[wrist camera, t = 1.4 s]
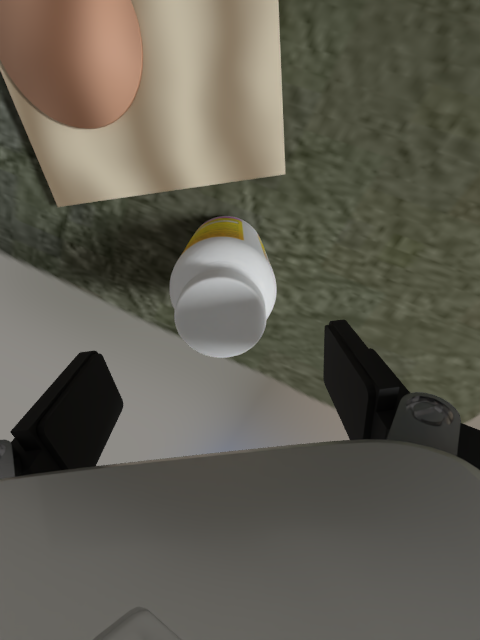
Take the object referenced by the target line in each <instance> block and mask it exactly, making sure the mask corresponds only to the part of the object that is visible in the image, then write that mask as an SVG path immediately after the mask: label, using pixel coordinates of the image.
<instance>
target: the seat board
mask: <svg viewBox="0 0 480 640" xmlns="http://www.w3.org/2000/svg"><path fill="white" fill-rule="evenodd" d="M0 71H1V73H2V76H3V78H4V80H5V83H6V85H7V88H8V90H9V92H10V95H11V97H12V99H13V102H14V104H15V107H16V109H17V111H18V114H19V116H20V118H21V121H22V123H23V125H24V128H25V130H26V133H27V135H28V137H29V140H30V142H31V144H32V147H33V149H34V152H35V154H36V156H37V159H38V161H39V163H40V166H41V168H42V171H43V173H44V175H45V178H46V180H47V182H48V185H49V187H50V189H51V192H52V194H53V197H54V199H55V201H56V204H57V206H58V207H61V206H68V205H75V204H82V203H89V202H96V201H103V200H110V199H117V198H124V197H131V196H137V195H144V194H151V193H158V192H165V191H172V190H179V189H186V188H193V187H200V186H207V185H214V184H221V183H228V182H235V181H242V180H248V179H255V178H262V177H269V176H276V175H283V174H285V154H284V129H283V105H282V80H281V55H280V30H279V6H278V0H0Z"/></svg>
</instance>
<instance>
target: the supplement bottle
mask: <svg viewBox="0 0 480 640" xmlns="http://www.w3.org/2000/svg"><path fill="white" fill-rule="evenodd" d="M169 290H170V298H171V301H172V305H173V307H174V309H175V314H174V318H175V325H176V328H177V331H178V333H179V335H180V336H181V338H182V339H183V340H184V342H185V343H186V344H187V345H189V346H190V347H191V348H192V349H194V350H195V351H197V352H199V353H201V354H204V355H207V356H211V357H219V358H226V357H232V356H236V355H239V354H242V353H244V352H246V351H247V350H249V349H250V348H252V347H253V346H254V345H255V344H256V343H257V342H258V341H259V339H260V338H261V336H262V334H263V332H264V330H265V326H266V319H267V318H268V316H269V315H270V313H271V311H272V309H273V306H274V303H275V299H276V280H275V276H274V273H273V270H272V267H271V265H270V263H269V260H268V257H267V255H266V252H265V249H264V246H263V244H262V241H261V239H260V237H259V235H258V233H257V232H256V231H255V229H254V228H253V227H252V226H251V225H250V224H248V223H247V222H245V221H244V220H242V219H239V218H236V217H232V216H220V217H215V218H213V219H210V220H208V221H207V222H205V223H204V224H202V225H201V226H200V227H199V228H198V229H197V231H196V232H195V234H194V235H193V237H192V238H191V240H190V241H189V243H188V245H187V246H186V248H185V249H184V251H183V253H182V254H181V256H180V257H179V259H178V261H177V262H176V264H175V266H174V268H173V271H172V274H171V278H170V289H169Z"/></svg>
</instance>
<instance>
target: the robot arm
mask: <svg viewBox="0 0 480 640" xmlns="http://www.w3.org/2000/svg"><path fill="white" fill-rule="evenodd" d="M324 383H325V386H326V388H327V390H328V392H329V395H330V397H331V399H332V401H333V403H334V406H335V408H336V410H337V412H338V414H339V416H340V419H341V421H342V423H343V425H344V428H345V430H346V432H347V434H348V436H349V439H350V440H343V441H332V442H331V441H330V442H319V443H309V444H297V445H287V446H277V447H268V448H258V449H248V450H239V451H229V452H220V453H210V454H201V455H192V456H183V457H174V458H165V459H156V460H147V461H138V462H129V463H120V464H112V465H103V466H96V464H97V462H98V460H99V457H100V456H101V453H102V451H103V449H104V447H105V445H106V443H107V441H108V439H109V436H110V434H111V432H112V430H113V428H114V426H115V424H116V422H117V420H118V417H119V415H120V413H121V411H122V408H123V401H122V398H121V396H120V394H119V392H118V389H117V387H116V385H115V382H114V380H113V378H112V376H111V373H110V371H109V369H108V367H107V365H106V362H105V360H104V358H103V356H102V355H101V354H98V353H97V352H96V351H89V352H81V353H79V354H78V355H77V356H76V357H75V358H74V360H73V361H72V362H71V363H70V364H69V365H68V367H67V368H66V369H65V370H64V371H63V372H62V373H61V374H60V376H59V377H58V378H57V379H56V380H55V382H53V384H52V385H51V386H50V387H49V388H48V389H47V391H46V392H45V393H44V394H43V395H42V396H41V397H40V399H39V400H38V401H37V402H36V403H35V404H34V405H33V406H32V408H31V409H30V410H29V411H28V412H27V413H26V414H25V416H24V417H23V418H22V419H21V420H20V421H19V422H18V424H17V425H16V426H15V427H14V428H13V429H12V431H11V433H12V435H13V436H14V437H15V438H14V439H13V441H12V442H9V441H7V440H0V640H480V430H477V429H475V428H472V427H470V426H467V425H465V424H462V423H461V419H460V415H459V413H458V411H457V410H456V408H454V407H453V406H452V405H451V404H450V403H449V402H447V401H445V400H444V399H442V398H440V397H437V396H435V395H432V394H427V393H419V392H415V393H410V392H409V391H408V390H407V389H406V387H405V386H404V385H403V384H402V383H401V381H400V380H399V379H398V378H397V377H396V375H395V374H394V373H393V372H392V371H391V369H390V368H389V367H388V366H387V365H386V363H385V362H384V361H383V360H382V359H381V357H380V356H379V355H378V354H377V353H376V352H375V351H374V350H373V349H371V348H370V349H368V347H367V346H366V345H365V344H364V342H363V341H362V340H361V339H360V337H359V336H358V335H357V334H356V332H355V331H354V330H353V329H352V328H351V326H350V325H349V324H348V323H347V321H346V320H336V321H330V323H329V325H326V326H325V338H324Z"/></svg>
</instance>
